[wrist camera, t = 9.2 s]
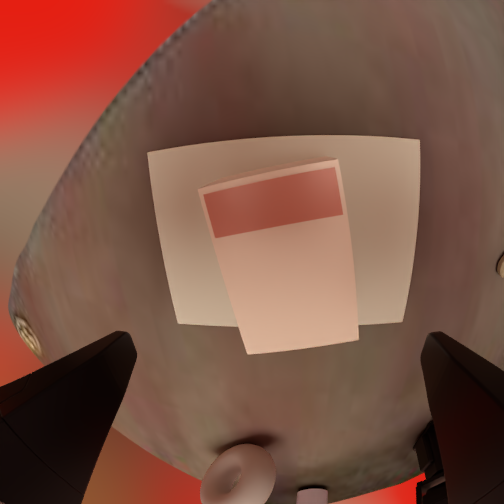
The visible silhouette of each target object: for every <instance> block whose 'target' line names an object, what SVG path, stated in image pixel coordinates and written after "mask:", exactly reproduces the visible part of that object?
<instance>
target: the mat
mask: <svg viewBox="0 0 504 504" xmlns="http://www.w3.org/2000/svg"><path fill="white" fill-rule="evenodd" d="M147 154H148V163H149V172H150V180H151V187H152V194H153V201H154V208H155V214H156V220H157V226H158V232H159V238H160V243H161V249H162V254H163V259H164V264H165V269H166V274H167V279H168V283H169V288H170V292H171V297H172V301H173V305H174V309H175V313H176V318H177V322H178V324H193V325H211V326H236V327H238V324H237V321H236V318H235V315H234V311H233V308H232V305H231V302H230V299H229V296H228V292H227V289H226V286H225V283H224V279H223V276H222V273H221V269H220V266H219V263H218V259H217V256H216V253H215V249H214V246H213V243H212V239H211V236H210V232H209V229H208V225H207V222H206V218H205V215H204V211H203V208H202V204H201V200H200V197H199V193H198V189H199V188H201V187H203V186H205V185H207V184H209V183H211V182H213V181H216V180H218V179H220V178H223V177H227V176H232V175H236V174H240V173H244V172H249V171H253V170H257V169H262V168H266V167H271V166H276V165H281V164H286V163H291V162H296V161H301V160H307V159H312V158H318V157H323V156H328V157H332V158H336V159H338V162H339V167H340V172H341V177H342V183H343V189H344V195H345V201H346V207H347V214H348V221H349V228H350V235H351V244H352V252H353V261H354V271H355V283H356V295H357V311H358V325H368V324H383V323H396V322H402V321H403V317H404V312H405V308H406V303H407V298H408V292H409V287H410V281H411V275H412V268H413V261H414V254H415V246H416V237H417V226H418V214H419V197H420V140H417V139H406V138H394V137H378V136H354V135H304V136H279V137H262V138H249V139H238V140H228V141H219V142H210V143H202V144H195V145H188V146H181V147H175V148H169V149H163V150H158V151H152V152H147Z"/></svg>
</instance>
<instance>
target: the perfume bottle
mask: <svg viewBox="0 0 504 504" xmlns="http://www.w3.org/2000/svg"><path fill="white" fill-rule="evenodd" d="M327 499H328V491H327V490H324V489H306V490H302V491H299V492H298V493H297V504H327Z"/></svg>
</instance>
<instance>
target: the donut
mask: <svg viewBox="0 0 504 504" xmlns="http://www.w3.org/2000/svg"><path fill="white" fill-rule="evenodd" d="M240 474H241V476H240V479H239V481H238V483H237V484H236V486H235V487H234V488H233V489H232V486H233V483H234V482H235V480H236V479H237V477H238V476H239V475H240ZM275 479H276V466H275V464H274V461H273V459H272V457H271V455H270V454H269V453H268V452H267V451H266V450H265V449H263V448H262V447H260V446H257V445H253V444H241V445H236V446H234V447H232V448H230V449H228V450H226V451H225V452H223V453H222V454H221V455H220V456H218V457H217V459H216V460H215V461H214V462H213V463H212V464H211V466H210V467H209V469H208V470H207V472H206V474H205V476H204V479H203V481H202V484H201V489H200V497H201V502H202V504H264V503H265V502H266V501H267V499H268V497H269V496H270V494H271V492H272V490H273V487H274V483H275ZM231 489H232V490H231Z"/></svg>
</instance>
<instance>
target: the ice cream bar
mask: <svg viewBox="0 0 504 504" xmlns="http://www.w3.org/2000/svg"><path fill="white" fill-rule="evenodd" d="M497 272H498V274H499V275H500V276H501V277H503V278H504V255H503V257H502V258H501V259H500V261H499V263H498V267H497Z"/></svg>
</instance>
